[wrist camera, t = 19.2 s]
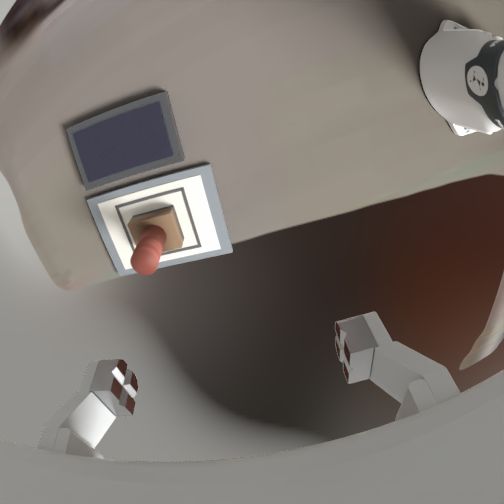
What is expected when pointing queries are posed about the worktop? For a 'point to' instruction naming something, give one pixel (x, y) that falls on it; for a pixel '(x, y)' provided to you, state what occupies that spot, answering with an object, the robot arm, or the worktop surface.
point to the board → (159, 196)
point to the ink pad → (126, 141)
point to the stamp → (154, 237)
